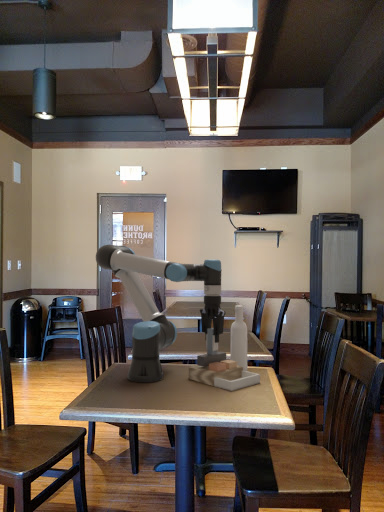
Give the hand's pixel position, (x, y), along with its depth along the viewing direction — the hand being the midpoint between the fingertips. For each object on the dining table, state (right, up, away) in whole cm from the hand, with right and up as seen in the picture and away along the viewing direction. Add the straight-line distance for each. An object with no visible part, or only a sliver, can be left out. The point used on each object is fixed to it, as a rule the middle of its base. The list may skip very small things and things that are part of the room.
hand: (212, 349), depth 180 cm
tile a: (+2, -7, -7) cm, 10 cm away
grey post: (0, -6, 0) cm, 6 cm away
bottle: (+13, -13, +12) cm, 22 cm away
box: (+10, -12, -11) cm, 19 cm away
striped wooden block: (+2, -12, -2) cm, 12 cm away
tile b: (+7, -7, -3) cm, 10 cm away
